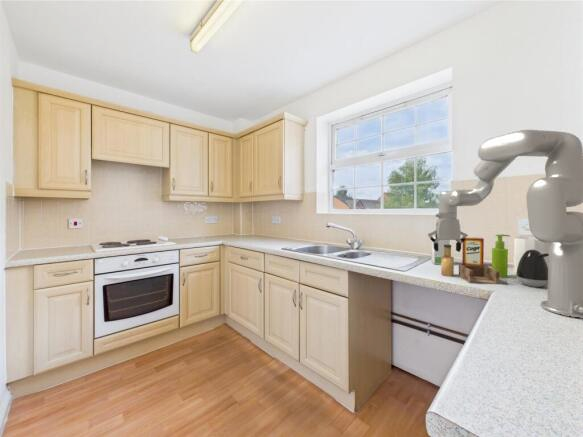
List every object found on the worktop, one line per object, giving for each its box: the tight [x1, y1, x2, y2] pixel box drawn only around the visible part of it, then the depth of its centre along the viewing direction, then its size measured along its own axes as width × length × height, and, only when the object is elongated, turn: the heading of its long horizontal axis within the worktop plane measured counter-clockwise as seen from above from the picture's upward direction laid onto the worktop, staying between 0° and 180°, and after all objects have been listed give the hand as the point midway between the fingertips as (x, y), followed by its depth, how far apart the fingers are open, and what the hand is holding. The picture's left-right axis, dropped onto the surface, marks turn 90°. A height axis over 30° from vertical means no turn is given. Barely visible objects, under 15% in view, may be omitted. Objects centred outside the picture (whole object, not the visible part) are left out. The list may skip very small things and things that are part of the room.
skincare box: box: [431, 236, 451, 265], centre depth 152 cm, size 8×7×16 cm
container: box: [513, 236, 551, 274], centre depth 125 cm, size 14×14×18 cm
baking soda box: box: [461, 236, 485, 266], centre depth 148 cm, size 10×6×16 cm
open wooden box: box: [458, 264, 500, 285], centre depth 117 cm, size 11×11×6 cm
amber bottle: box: [440, 244, 455, 278], centre depth 126 cm, size 5×5×15 cm
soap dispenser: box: [491, 233, 511, 278], centre depth 123 cm, size 6×7×20 cm
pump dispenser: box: [515, 250, 549, 288], centre depth 108 cm, size 10×10×15 cm
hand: (447, 251), depth 126 cm, fingers open, 9 cm apart
